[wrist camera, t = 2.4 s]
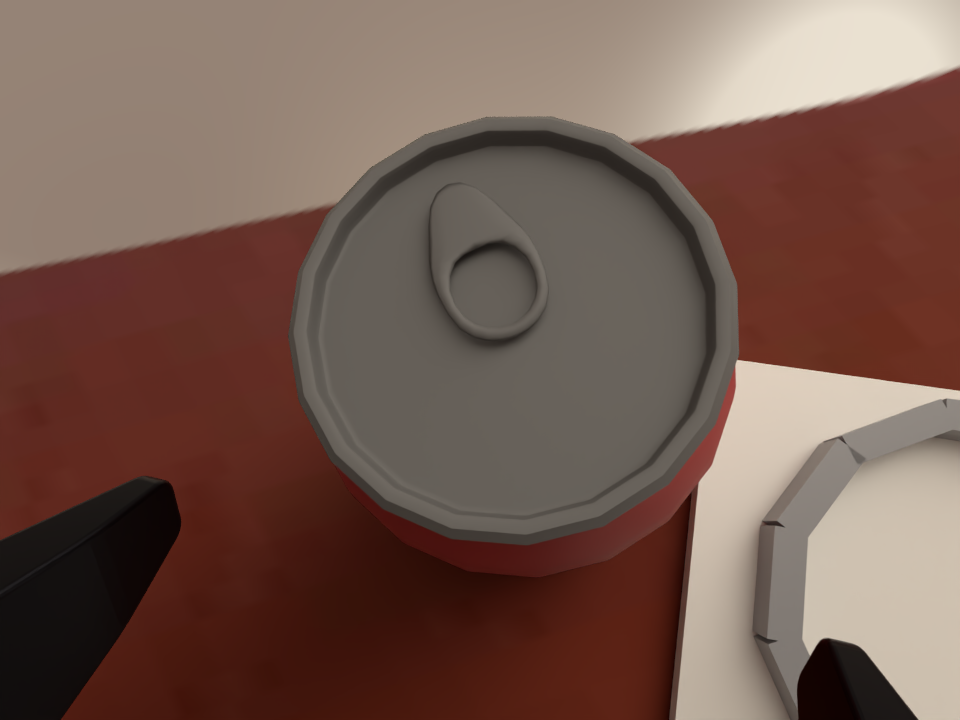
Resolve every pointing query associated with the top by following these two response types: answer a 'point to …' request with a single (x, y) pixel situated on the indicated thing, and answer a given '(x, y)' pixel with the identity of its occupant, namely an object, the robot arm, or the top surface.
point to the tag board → (822, 544)
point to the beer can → (517, 344)
